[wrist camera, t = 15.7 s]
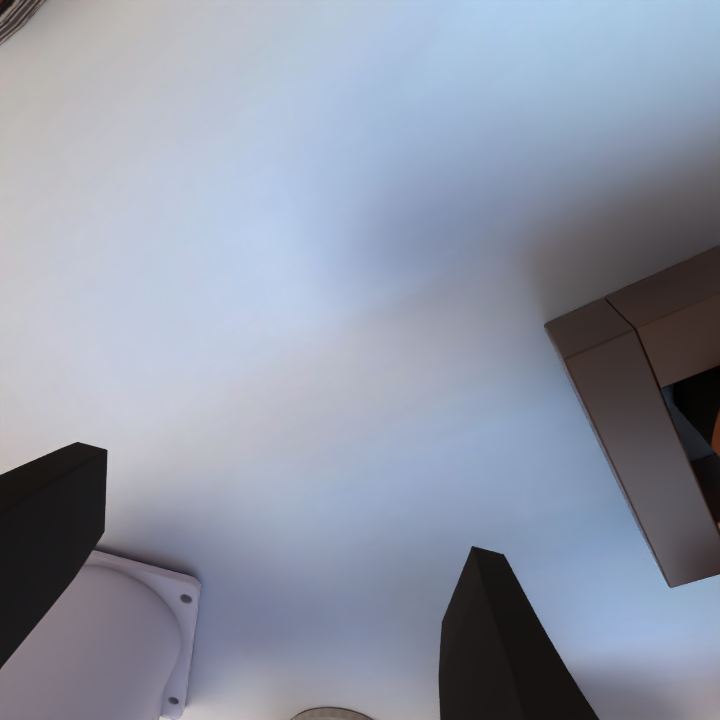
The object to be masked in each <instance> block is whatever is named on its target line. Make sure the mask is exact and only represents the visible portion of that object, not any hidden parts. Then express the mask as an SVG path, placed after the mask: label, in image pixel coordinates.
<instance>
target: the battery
mask: <svg viewBox="0 0 720 720" xmlns="http://www.w3.org/2000/svg"><path fill="white" fill-rule="evenodd" d="M675 406H676V407H677V408H678V410H679V411H680V412H681V413H682V414H683V415H684V417H685V418H686V419H687V420H688V421H689V422H690V423H691V425H692V426H693V427H694V428H695V429H696V430H697V431H698V433H699V434H700V435H701V436H702V437H703V438H704V440H705V441H706V442H707V443H708V444H709V445H710V446H711V448H712V449H713V450H714V451H715V452H716V453H717V454H718V456H719V457H720V365H719V366H717V367H714V368H712V369H709V370H706V371H704V372H701V373H699V374H696V375H694V376H691V377H688V378H686V379H683V380H681V381H678V385H677V390H676V395H675Z"/></svg>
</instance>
